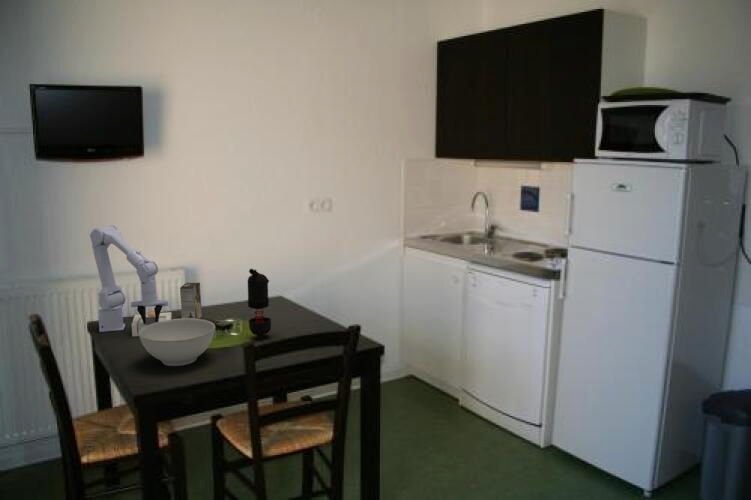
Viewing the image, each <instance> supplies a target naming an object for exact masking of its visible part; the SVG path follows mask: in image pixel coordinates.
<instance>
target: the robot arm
mask: <svg viewBox="0 0 751 500" xmlns="http://www.w3.org/2000/svg"><path fill="white" fill-rule="evenodd" d="M89 238H90V240H91V249H92V252H93V256H94V261H95V264H96V269H97V272H98V276H99V280H100V283H101V289H100V290H99V292H98V305H99V307H100V308H101V309H98V313H97V314H98V315H97V316H98V326H99V327H98V328H99V330H98V331H99V332H100V333H101V332H102V333H103V332H104V333H105V332H112V331H113V332H116V331H124V329H125V327H126V323H124V317H123V315H124V314H123V307H124V304H125V303H126V296H125V293H124V292H123V289H122V286H121V287H120V286H119V285H117V282H116V279H115V275H114V271H113V268H112V265H111V264H112V263H111V259H110V256H109V255H110V254H109V252H108V251H109V250H108V248H109V247H110V245H113V246H115V247H117V249H118V250H120V251H121V252H122V253H123V254H125V256H126V260H127V261H128V263H130V264H131V265H132V266H133V268H135V269H136V274H137V276H138V278H139V282H140V289H141V291H140V292H141V300H136V301H131V302H130V308H136V310H137V312H138V313H139V314H140V315H141V317H142V320H143V323H144V324H146V319H145V318H146V314H147V312H146V311H147V310H146V309H147V308H146V307H154V308H153V311H155V322H158V321H159V315H160V313H162V312H161V311H162V309H163V307H168V306H169V300H162V299H161V300H159V299H157V286H156V285H157V284H156V275H157V274H158V272H159V267H158V265H157V263H156V262H155V261H153V260H152V261H151V260H149V259H148V258H146V257H145V256H144V255H143V254H142V252H141V251H140V250H138V249H133V248H132V246H131V245H130V243H128V242H127V241H126V240H125V238H124V237H123V236H122V234H121V230H120V229H119V228H118V227H117V226H116V225H109V226H104V227H96V228H93V229H92V231H91V232H90V234H89ZM139 314H138V315H139Z"/></svg>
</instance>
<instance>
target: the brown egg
mask: <svg viewBox="0 0 751 500" xmlns="http://www.w3.org/2000/svg"><path fill="white" fill-rule="evenodd" d="M146 314H147V315H148V316H155V310H152V311H148V312H146Z"/></svg>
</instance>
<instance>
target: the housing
mask: <svg viewBox="0 0 751 500" xmlns="http://www.w3.org/2000/svg"><path fill="white" fill-rule="evenodd" d="M146 317H155V316H148V315H147V313H146ZM159 318H165V320H171V319H172V311H169V312H160V315H159ZM140 319H142V317H141V315H140V314H135V315H134V317H133V320H132V322H131V334H132V335H131V336H132V337H139V333H138V324H139V321H140Z"/></svg>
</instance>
